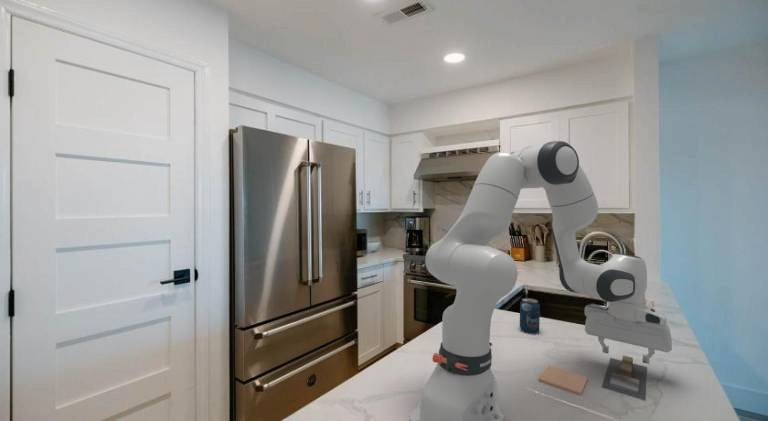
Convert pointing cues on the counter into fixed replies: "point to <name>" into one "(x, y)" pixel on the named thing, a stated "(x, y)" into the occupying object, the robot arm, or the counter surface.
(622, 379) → the grey panel with knob
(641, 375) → the mat
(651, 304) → the chess piece
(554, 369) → the tile
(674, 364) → the counter surface
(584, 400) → the counter surface
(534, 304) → the soda can
